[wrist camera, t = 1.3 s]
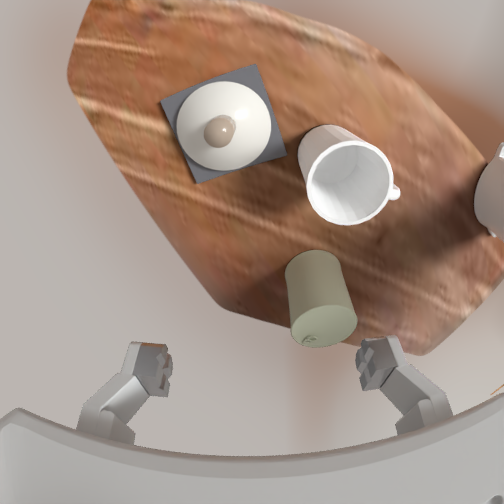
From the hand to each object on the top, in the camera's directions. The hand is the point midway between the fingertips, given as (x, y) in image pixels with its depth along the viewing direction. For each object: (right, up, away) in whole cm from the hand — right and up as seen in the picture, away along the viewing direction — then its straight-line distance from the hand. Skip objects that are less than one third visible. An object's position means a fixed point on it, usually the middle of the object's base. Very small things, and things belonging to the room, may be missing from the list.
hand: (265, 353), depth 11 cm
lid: (-4, +19, +20) cm, 28 cm away
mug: (+10, +16, +22) cm, 30 cm away
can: (+9, +1, +34) cm, 35 cm away
